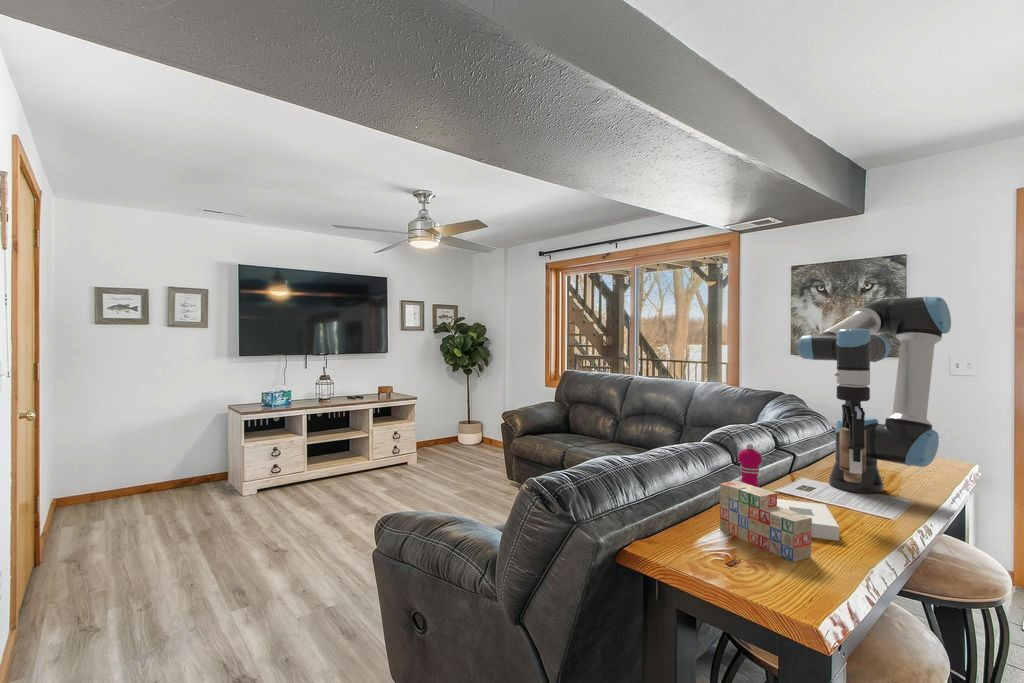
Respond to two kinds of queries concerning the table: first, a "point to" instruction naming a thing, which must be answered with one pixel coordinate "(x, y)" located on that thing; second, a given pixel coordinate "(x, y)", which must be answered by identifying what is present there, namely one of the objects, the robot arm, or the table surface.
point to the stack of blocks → (764, 521)
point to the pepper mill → (749, 465)
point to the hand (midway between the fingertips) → (852, 469)
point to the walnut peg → (846, 456)
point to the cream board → (815, 518)
